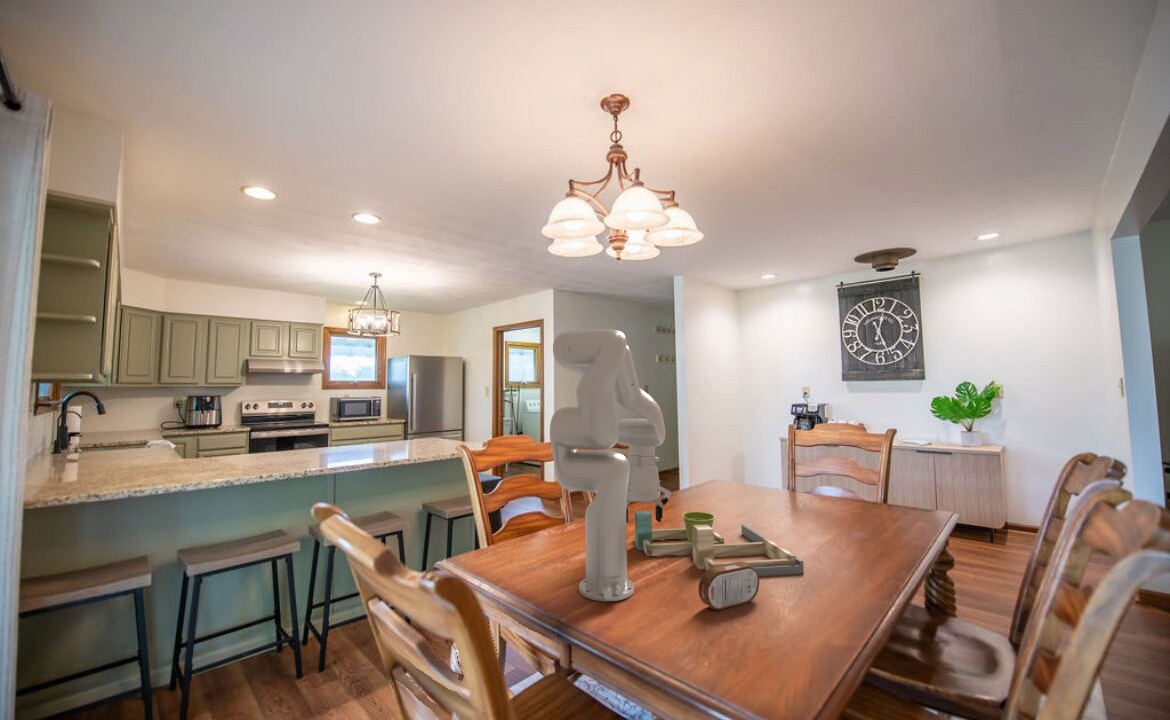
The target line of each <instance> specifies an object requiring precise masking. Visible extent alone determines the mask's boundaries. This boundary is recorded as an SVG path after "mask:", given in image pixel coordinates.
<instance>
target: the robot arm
mask: <svg viewBox="0 0 1170 720" xmlns="http://www.w3.org/2000/svg"><path fill="white" fill-rule="evenodd" d="M552 343H553V344H552V353H553V356H554V359H555V361H556V363H557V364H558V365H559V366H560V367H562V368H563V369H566V370H568V371H571V372H573V373H576V374H578V375H579V374H580V375H582V377H581V378H580V380H579V381H578V383H577V385H576V388H575V389H576V390H575V391H576V401H577V406H576V407H575V406H573V407H572V406H571V407H570V406H568V407H560V408H559V409H557V410H555V412H554V413H553V415H552V417H551V419H550V423H549V439H550V445H551V453H552V459H553V464H554V465H553V466H554V471H555V476H556V481H557V482H558V485H559V486H560V487H562V488H563V489H565V490H568V491H576V492H588V493H594V494H595V496H594V497H593V499H592V501H591V502H589V504H588V505H587V508H586V510H585V514H584V515H585V516H584V517H585V519H584V521H585V523H584V524H585V578H583V579H582V580H581V581H580V582H579V585H578V591H579V593H580V595H582V596H583V597H584V598H587V599H589V600H592V601H597V602H608V603H609V602H610V603H611V602H618V601H622V600H625V599H627V598H629V597H631V596H632V595H633V594H634V591H635V585H634V583H633V581H631V580H630V579H629V578H628V554H627V553H628V549H627V548H628V546H627V544H628V542H627V541H628V538H627V532H628V531H627V526H628V525H627V524H628V523H629V509H628V506H629V505H630V503H633V502H635V503H639V502H640V503H641V502H643V503H644V502H645V503H647V502H650V503H651V502H654V503H655V504H656V506H655V520H656V521H657V522H658V523H662V519H663V508H664V507H665V505H666V504H667V503H668V502H669V500H670V498H671V495H672V491H670V490H668V489H667V488H665V487H662V486H661V484H660V476H659V469H658V466H657V463H659V462H660V457H658V456H656V452H655V451H656V449H655V448H656V447H660V446H661V445H662V444H663V443H664V442H665V439H666V427H665V420H664V415H663V411H662V409H661V406H660V405H659V404H658V403H657V401H656V400H655V399H654V398H652V396H651V395H650V394H648V393H647V392H646V391H645V390H643V389H642V388H641V387H640V386H639V381H638V377H637V373H636V368H635V365H634V364H635V363H634V361H633V357H632V352H631V350H630V346H628V343H627V337H626V335H625V334H624V333H623V332H622V331H620V330H617V329H613V328H612V329H611V328H596V329H595V328H594V329H581V330H567V331H562V332H560V333H559V334H557V335H556V337H554V340H553V342H552ZM617 406H618V407H622V408H624V409H626V410H629V411H631V412H634V413H637V414H639V415H640V416H642V417H644V418H621V419H619V420H618V413H617ZM617 443H618V444H619V445H622V446H626V447H627V446H628V458H627V456H625V455H623V454H622V453H619V452H617V451H610V450H607V449H611V448H614V447H615V445H617ZM661 492H662V493H663V494H664V496H663V497H662V498H661Z"/></svg>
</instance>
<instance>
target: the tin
mask: <svg viewBox="0 0 1170 720" xmlns="http://www.w3.org/2000/svg"><path fill="white" fill-rule="evenodd" d="M738 561H739V562H736V561H733V562H734V563H729V564H724V565H718V566H713V567H711V568H709V569H708V570H707V571H706V570H705V571H704V573H703V574H702V575H701V577H700V579H699V583H698V595H699V598H700V601H701V602H702V603H703V604H704V605H706V606H708V607H709V608H711V609H713V610H716V611H720V610H725V609H728V608H732V607H733V608H735V607H737V606H741V605H746V604H749V603H751V602H752V601H753V600H754V599H755V598H756V596H757V594H758V592H759V588H760V576H759V574H758V572H757V570H756V569H755V568H754V567H752V566H750V565H749V564H747V563H746V562H743V561H744V560H738Z"/></svg>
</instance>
